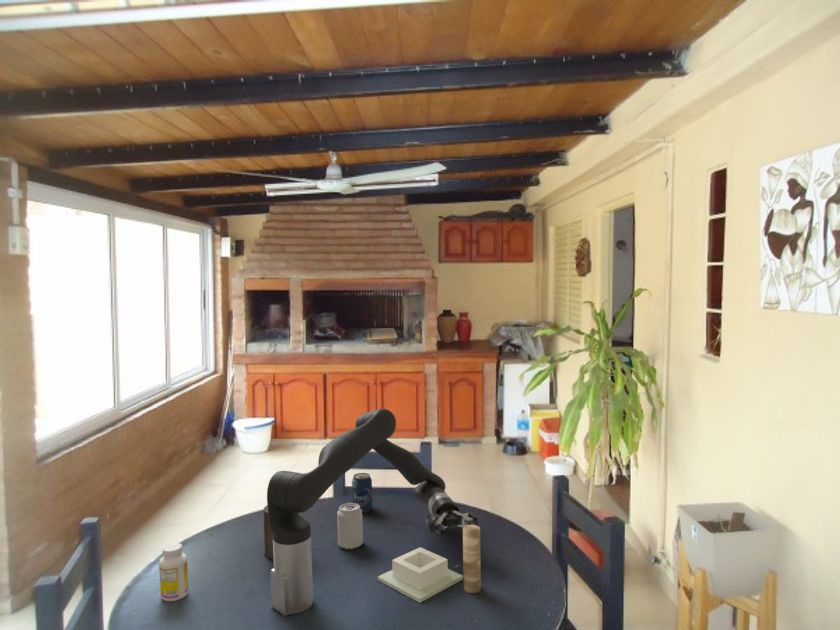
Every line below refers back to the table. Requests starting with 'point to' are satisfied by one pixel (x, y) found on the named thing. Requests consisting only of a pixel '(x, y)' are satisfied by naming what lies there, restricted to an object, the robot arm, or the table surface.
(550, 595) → the table surface
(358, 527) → the can
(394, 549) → the table surface
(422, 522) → the table surface
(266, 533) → the pillar candle
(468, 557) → the peg
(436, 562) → the socket
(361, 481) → the soda can
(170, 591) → the supplement bottle
